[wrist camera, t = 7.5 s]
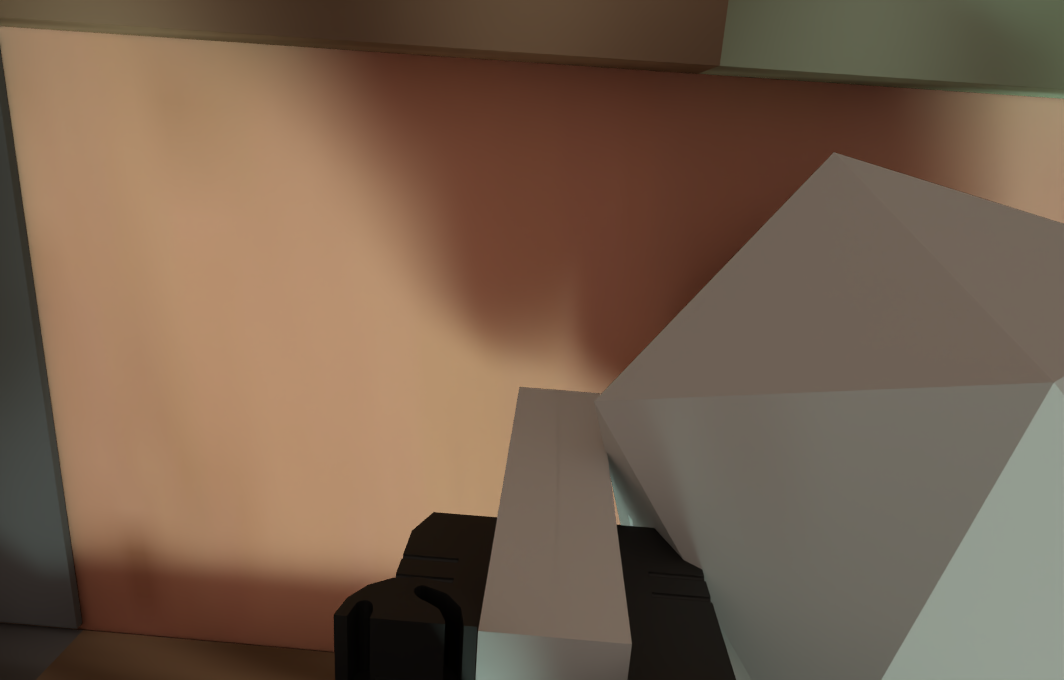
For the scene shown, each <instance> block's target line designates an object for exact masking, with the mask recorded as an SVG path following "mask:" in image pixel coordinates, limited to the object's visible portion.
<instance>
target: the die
mask: <svg viewBox="0 0 1064 680" xmlns="http://www.w3.org/2000/svg"><path fill="white" fill-rule="evenodd" d="M594 404H595V409H596V413H597V418H598V422H599V427H600V432H601V436H602V441H603V445H604V450H605V451H606V452H607V455H608V463H609V471H610V477H611V482H612V487H613V491H614V496H615V500H616V505H617V509H618V514H619V519H620V523H621V525H625V526H637V527H650V528H655V529H656V530H657V531H658V532H659V534H660V535H661V536H662V537H663V538H664V539H665V540H666V541H667V542H668V543H669V544H670V546H671V547H672V548H673V549H674V550H675V551H676V552H677V553H678V554H679V555H680V556H681V558H682V559H683V560H685V561H687V562H689V563H691V564H693V565H695V566H697V567H699V568H701V569H702V570H703V574H704V581H706V583H707V587H708V590H709V593H710V596H711V602H712V603H713V606H714V609H715V613H716V616H717V619H718V622H719V626H720V629H721V632H722V635H723V639H724V642H725V645H726V648H727V652H728V655H729V658H730V661H731V665H732V668H733V671H734V674H735V678H736V680H1064V224H1063V223H1060V222H1057V221H1053V220H1050V219H1047V218H1044V217H1041V216H1037V215H1034V214H1031V213H1028V212H1024V211H1021V210H1018V209H1015V208H1012V207H1008V206H1005V205H1002V204H999V203H996V202H992V201H989V200H986V199H983V198H979V197H976V196H973V195H970V194H967V193H963V192H960V191H957V190H954V189H951V188H947V187H944V186H941V185H938V184H934V183H931V182H928V181H925V180H922V179H918V178H915V177H912V176H909V175H906V174H902V173H899V172H896V171H893V170H889V169H886V168H883V167H880V166H877V165H873V164H870V163H867V162H864V161H861V160H857V159H854V158H851V157H848V156H844V155H841V154H838V153H835V152H834V153H833V154H832V155H831V156H830V157H829V158H828V159H827V160H826V161H825V162H824V163H823V164H822V165H821V166H820V167H819V168H818V169H817V170H816V171H815V172H814V173H813V174H812V175H811V176H810V177H809V179H808V180H807V181H806V182H805V183H804V184H803V185H802V186H801V187H800V188H799V189H798V190H797V191H796V192H795V193H794V194H793V195H792V196H791V197H790V198H789V199H788V200H787V201H786V202H785V203H784V204H783V206H782V207H781V208H780V209H779V210H778V211H777V212H776V213H775V214H774V215H773V216H772V217H771V218H770V219H769V220H768V221H767V222H766V223H765V224H764V225H763V226H762V227H761V228H760V229H759V230H758V232H757V233H756V234H755V235H754V236H753V237H752V238H751V239H750V240H749V241H748V242H747V243H746V244H745V245H744V246H743V247H742V248H741V249H740V250H739V251H738V252H737V253H736V254H735V255H734V256H733V257H732V259H731V260H730V261H729V262H728V263H727V264H726V265H725V266H724V267H723V268H722V269H721V270H720V271H719V272H718V273H717V274H716V275H715V276H714V277H713V278H712V279H711V280H710V281H709V282H708V283H707V284H706V286H705V287H704V288H703V289H702V290H701V291H700V292H699V293H698V294H697V295H696V296H695V297H694V298H693V299H692V300H691V301H690V302H689V303H688V304H687V305H686V306H685V307H684V308H683V309H682V310H681V311H680V313H679V314H678V315H677V316H676V317H675V318H674V319H673V320H672V321H671V322H670V323H669V324H668V325H667V326H666V327H665V328H664V329H663V330H662V331H661V332H660V333H659V334H658V335H657V336H656V337H655V338H654V340H653V341H652V342H651V343H650V344H649V345H648V346H647V347H646V348H645V349H644V350H643V351H642V352H641V353H640V354H639V355H638V356H637V357H636V358H635V359H634V360H633V361H632V362H631V363H630V364H629V366H628V367H627V368H626V369H625V370H624V371H623V372H622V373H621V374H620V375H619V376H618V377H617V378H616V379H615V380H614V381H613V382H612V383H611V384H610V385H609V386H608V387H607V388H606V389H605V390H604V391H603V393H602V394H601V395H600V396H599V397H598V398H597V399H596V400H595V401H594Z"/></svg>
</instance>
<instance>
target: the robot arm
mask: <svg viewBox="0 0 1064 680" xmlns="http://www.w3.org/2000/svg"><path fill="white" fill-rule="evenodd" d="M599 396H600V393H591V392H578V391H565V390H553V389H540V388H527V387H519V393H518V399H517V405H516V411H515V417H514V422H513V428H512V434H511V440H510V446H509V452H508V458H507V464H506V470H505V476H504V481H503V487H502V493H501V499H500V505H499V511H498V517H485V516H472V515H460V514H448V513H436V512H433V513H432V514H431V515H430V516H429V517H428V518H426V519H425V520H424V521H423V522H422V523H421V524H419V525H418V526H417V527H416V528H415V529H414V530H412V532H411V535H410V538H409V540H408V543H407V546H406V548H405V551H404V554H403V559H401V562H400V565H399V567H398V570H397V573H396V578H391V579H387V580H384V581H380V582H377V583H373V584H370V585H367V586H366V587H364V588H362V589H361V590H359V591H357V592H356V593H354V594H353V595H351V596H349V597H348V598H347V599H346V600H345V601H344V602H343V604H342V605H341V606H340V608H339V609H338V610H337V611H336V613H335V614H334V652H335V680H736V678H735V674H734V671H733V668H732V665H731V661H730V658H729V655H728V652H727V648H726V645H725V642H724V639H723V635H722V632H721V629H720V626H719V622H718V619H717V616H716V613H715V609H714V606H713V603H712V602H711V596H710V593H709V590H708V587H707V583H706V581H704V574H703V570H702V569H701V568H699V567H697V566H695V565H693V564H691V563H689V562H687V561H685V560H683V559H682V558H681V556H680V555H679V554H678V553H677V552H676V551H675V550H674V549H673V548H672V547H671V546H670V544H669V543H668V542H667V541H666V540H665V539H664V538H663V537H662V536H661V535H660V534H659V532H658V531H657V530H656V529H655V528H650V527H637V526H625V525H616V517H615V509H614V501H613V494H612V486H611V478H610V471H609V463H608V455H607V452H606V451H605V450H604V445H603V441H602V436H601V432H600V427H599V422H598V418H597V413H596V409H595V404H594V401H595V400H596V399H597V398H598V397H599Z"/></svg>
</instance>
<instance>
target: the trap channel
mask: <svg viewBox="0 0 1064 680" xmlns="http://www.w3.org/2000/svg"><path fill="white" fill-rule="evenodd" d="M0 26H6V27H21V28H35V29H50V30H65V31H79V32H94V33H109V34H123V35H138V36H153V37H167V38H182V39H197V40H211V41H226V42H241V43H255V44H270V45H285V46H299V47H314V48H329V49H343V50H358V51H373V52H387V53H402V54H417V55H431V56H446V57H461V58H475V59H490V60H505V61H519V62H534V63H549V64H563V65H578V66H593V67H607V68H622V69H637V70H651V71H666V72H681V73H695V74H710V75H725V76H739V77H754V78H769V79H783V80H798V81H813V82H827V83H842V84H857V85H871V86H886V87H901V88H915V89H930V90H945V91H959V92H974V93H989V94H1003V95H1018V96H1033V97H1047V98H1062V99H1064V0H0ZM0 622H7V623H0V680H335V653H334V652H323V651H312V650H301V649H290V648H278V647H267V646H256V645H245V644H234V643H223V642H212V641H200V640H189V639H178V638H167V637H156V636H145V635H133V634H122V633H111V632H100V631H89V630H78V629H77V628H78V627H79V626H80V625H81V624H82V618H81V611H80V604H79V597H78V590H77V583H76V576H75V569H74V562H73V555H72V548H71V541H70V534H69V527H68V520H67V513H66V506H65V499H64V492H63V485H62V478H61V471H60V464H59V457H58V450H57V443H56V436H55V429H54V422H53V415H52V408H51V401H50V394H49V387H48V380H47V373H46V366H45V359H44V352H43V345H42V338H41V331H40V324H39V317H38V310H37V303H36V296H35V289H34V282H33V275H32V268H31V261H30V254H29V247H28V240H27V233H26V226H25V219H24V212H23V205H22V198H21V191H20V184H19V177H18V170H17V163H16V156H15V149H14V141H13V134H12V127H11V120H10V113H9V106H8V99H7V92H6V85H5V78H4V71H3V64H2V57H1V50H0ZM11 623H18V624H11ZM22 624H29V625H22ZM33 625H41V626H33ZM44 626H52V627H44ZM55 627H63V628H55ZM67 628H74V629H67Z"/></svg>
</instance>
